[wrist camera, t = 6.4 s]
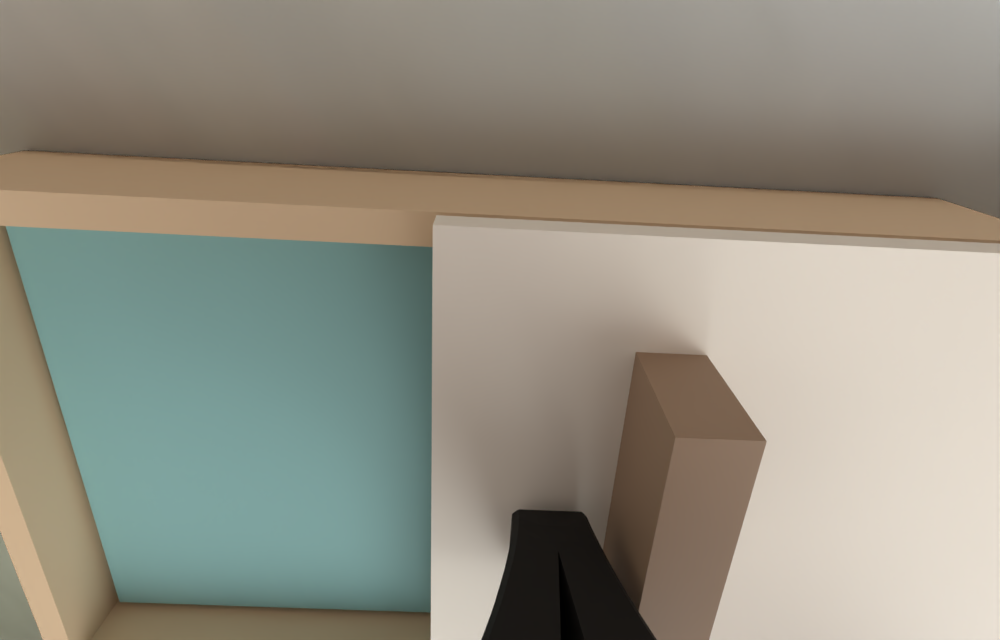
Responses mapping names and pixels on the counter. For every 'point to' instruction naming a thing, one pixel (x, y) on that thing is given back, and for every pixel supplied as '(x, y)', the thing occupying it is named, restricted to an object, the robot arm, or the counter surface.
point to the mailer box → (267, 378)
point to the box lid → (723, 424)
